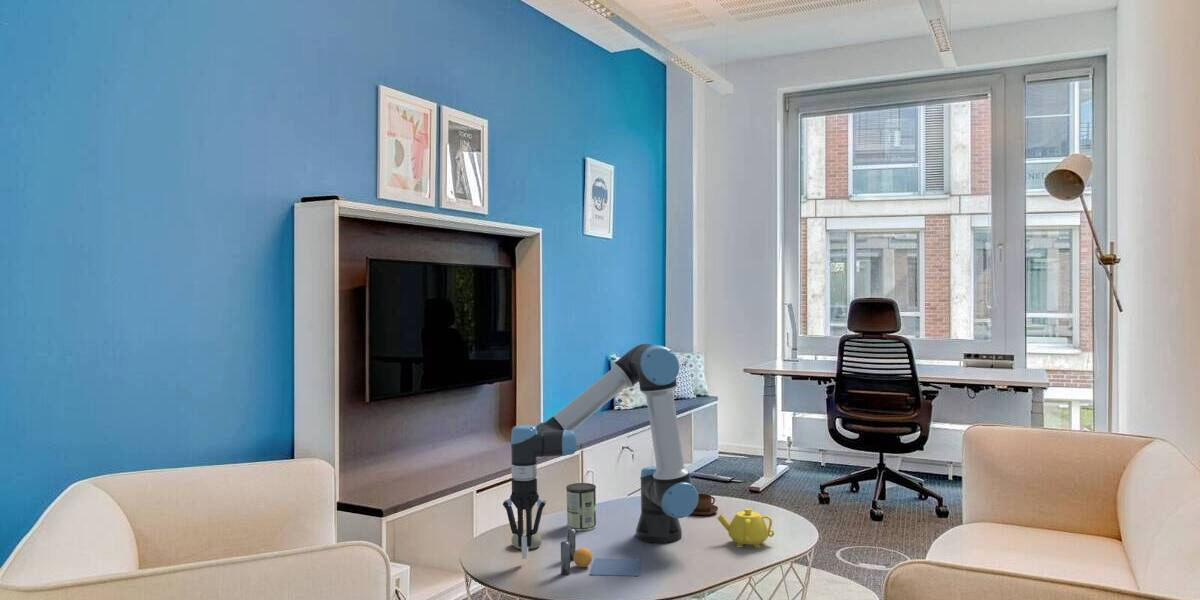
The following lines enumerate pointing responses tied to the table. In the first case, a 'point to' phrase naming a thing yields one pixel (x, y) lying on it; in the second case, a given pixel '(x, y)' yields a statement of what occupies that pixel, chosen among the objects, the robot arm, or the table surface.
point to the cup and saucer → (705, 505)
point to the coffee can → (581, 506)
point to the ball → (582, 557)
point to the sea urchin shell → (535, 540)
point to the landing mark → (615, 567)
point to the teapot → (748, 527)
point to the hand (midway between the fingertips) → (525, 557)
